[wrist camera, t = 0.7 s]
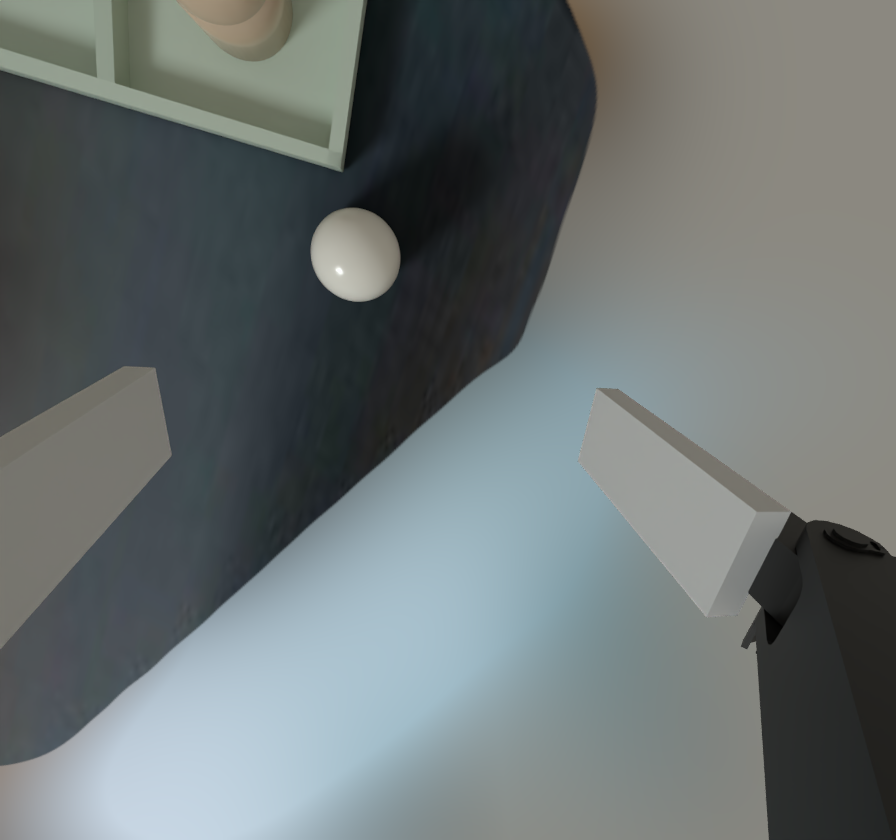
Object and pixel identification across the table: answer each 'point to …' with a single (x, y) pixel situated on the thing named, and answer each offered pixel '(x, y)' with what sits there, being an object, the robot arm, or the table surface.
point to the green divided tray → (197, 68)
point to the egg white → (355, 254)
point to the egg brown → (244, 25)
